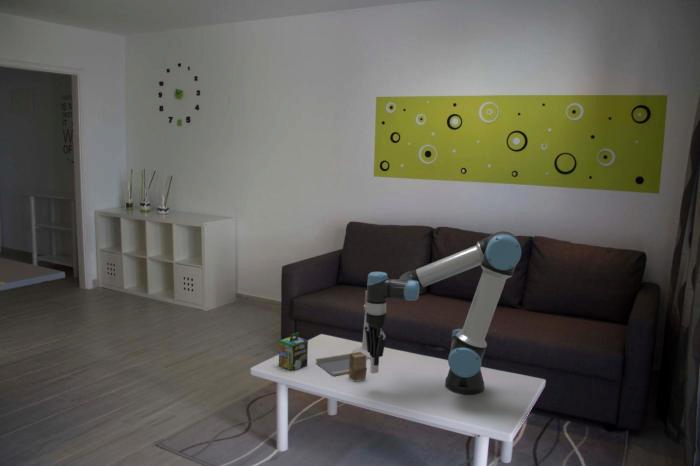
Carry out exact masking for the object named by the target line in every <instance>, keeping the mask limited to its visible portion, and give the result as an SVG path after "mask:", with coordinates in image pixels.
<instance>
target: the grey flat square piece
mask: <svg viewBox="0 0 700 466" xmlns="http://www.w3.org/2000/svg"><path fill="white" fill-rule="evenodd" d="M350 354H351V353H344V354H337V355H332V356H324V357H317V358H316V360H315V364H316V365H317V366H318V367H320V368H321V369H322V370H324V371H325V372H326V373H327V374H329V375H330V376H332V377H336V376H337V377H338V376H343V375H349V355H350ZM367 370H368V367H367V366H366V372H367Z"/></svg>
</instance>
